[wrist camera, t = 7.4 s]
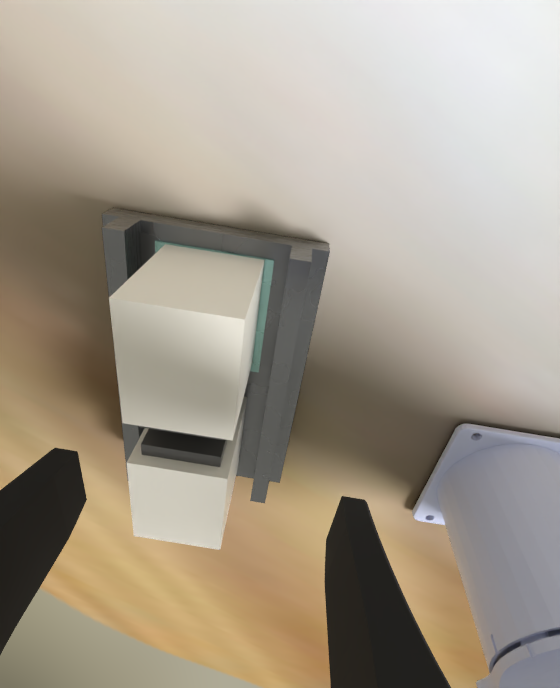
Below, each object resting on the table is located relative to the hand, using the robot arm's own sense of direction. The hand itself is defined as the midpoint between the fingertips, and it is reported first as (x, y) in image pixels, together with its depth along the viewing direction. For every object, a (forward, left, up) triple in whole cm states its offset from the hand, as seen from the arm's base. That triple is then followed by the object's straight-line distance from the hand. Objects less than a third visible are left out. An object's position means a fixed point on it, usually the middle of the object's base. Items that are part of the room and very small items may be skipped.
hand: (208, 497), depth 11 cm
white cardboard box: (+2, -1, -8) cm, 9 cm away
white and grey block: (+2, +6, -8) cm, 10 cm away
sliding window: (+2, +2, -9) cm, 10 cm away
